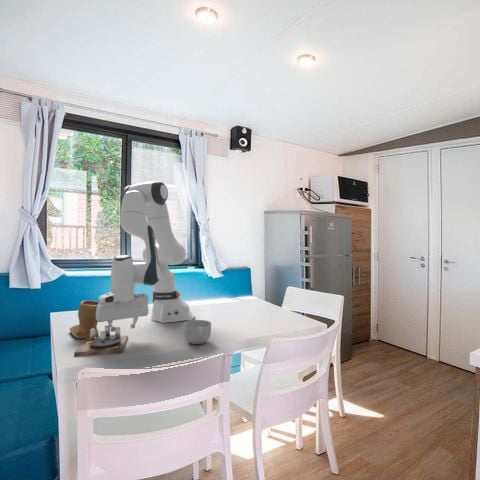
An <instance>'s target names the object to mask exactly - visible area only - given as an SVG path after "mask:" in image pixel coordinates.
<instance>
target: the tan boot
mask: <svg viewBox="0 0 480 480" xmlns="http://www.w3.org/2000/svg"><path fill="white" fill-rule="evenodd" d="M99 302H100V301H99V300H98V301H96V300H89V299H87V300H86V299H84V300H82V301H80V303H79V305H78V312H77V318H78V321H79V324H77V325H73V326H71V327H70V328H69V332H70V333H71V334H72V336H73V337H74V338H76V339H86V338H90V329H95V337H97V336H100V332H99V330H98V323H99V322H98V321H97V320H96V308H97V305H98V303H99Z"/></svg>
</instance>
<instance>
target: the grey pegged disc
mask: <svg viewBox="0 0 480 480" xmlns="http://www.w3.org/2000/svg"><path fill="white" fill-rule="evenodd" d="M115 327H116V326H115ZM120 336H121V326H118V327H116V328H115V331H114V334H111V327H110V325H109V324H106V325H104V330H102V331H100V332H99V335H97V336H95V329H90V342H86V344H87V345H88V344H90V346H91V347H93V348H106V347H111V346H115V345H117V344H119V343H120V342H121V337H120Z"/></svg>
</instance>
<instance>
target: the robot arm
mask: <svg viewBox="0 0 480 480" xmlns="http://www.w3.org/2000/svg"><path fill="white" fill-rule="evenodd" d="M168 197H169V190H168V187H167V185H166V184H165V183H164V182H162V181H157V180H155V181H144V182H140V183H135V184H130V185H127V186H125V187H124V189H123V190H122V201H121V206H120V219H119V223H120V226H121V229H123V231H125V232H126V233H127V234H129V235H131V236H134V237H137V238H139V239H140V240H142V241H144V244H145V247H144V248H143V250H142V258H143V260H144V261H139V262H138V261H135V262H134V261H133V259H134V258H133V256H131V255H129V254H126V255H125V254H120V255H116V256H114V257H113V258H112V261H111V268H110V280H111V282H112V283H111V287H110V291H109V292H106V293H104V294H101V295H99V296H98V302H99V303H98V305H97V308H96V320H97V321H98V323H105V322H107V325H110V333H113V332H115V328H116V326H115V325H113V321H119V320H126V319H133V321H132V323H130V329H135V328H136V324H137V322H138V320H139V318H141V317H147V316H148V315H149V304H148V303H149V296H148V295H147V294H146V293H135V286H134V285H137V286H138V285H142V286H143V285H144V286H152V288H153V289H152V290H153V291H152V293H151V295H152V296H151V297H152V299H151V301H152V310H151V315H150V317H149V318H150V320H151V321H152V322H159V323H163V324H164V323H175V322H183V321H184V322H186V321H189V320H195V314H194V313H193V312H191V309H190V306H189V304H188V302H186V301H184V300H182V299H181V298H180V296H181V293H180V292H179V290H178V291H177V290H176V277H175V275H174V273H173V272H172V271H171V270H170V267H169V266H175V265H180V264H182V263H183V262H184V261H185V260H186V257H187V256H186V255H187V252H186V249H185V247H184V246H183V245H181V244H180V243H179V241H178V240H177V239H176V237H175V235H174V232H173V230H172V226H171V225H172V224H171V220H170V215H169V210H168V206H167V202H166V201H167V200H168Z"/></svg>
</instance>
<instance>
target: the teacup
mask: <svg viewBox="0 0 480 480" xmlns="http://www.w3.org/2000/svg"><path fill="white" fill-rule="evenodd" d="M211 331H212V322H211V321H209V320H204V319H192V320H185V321H184V332H183V333H184V338H185V340H186V341H187V342H188V343H189V344H193V345H200V344H201V345H202V344H205V343H206V342H207V341H208V340H209V339H210V338H211V334H212V333H211Z"/></svg>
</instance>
